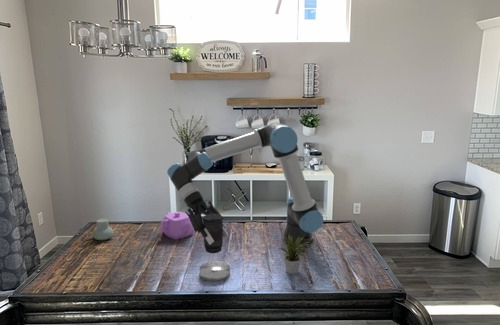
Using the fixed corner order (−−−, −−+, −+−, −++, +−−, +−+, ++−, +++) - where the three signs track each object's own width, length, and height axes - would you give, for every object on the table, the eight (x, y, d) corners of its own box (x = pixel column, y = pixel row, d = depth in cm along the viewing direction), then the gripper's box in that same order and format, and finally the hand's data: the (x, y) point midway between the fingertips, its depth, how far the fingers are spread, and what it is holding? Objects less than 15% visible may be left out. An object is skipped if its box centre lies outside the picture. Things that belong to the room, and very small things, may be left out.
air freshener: (115, 239, 199) (114, 221, 197) (99, 243, 193) (98, 225, 191) (107, 233, 207) (105, 215, 204) (91, 237, 201) (90, 219, 199)
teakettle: (166, 227, 214) (165, 207, 212) (196, 228, 214) (195, 207, 211) (158, 240, 198) (157, 217, 195) (190, 240, 197) (189, 218, 194)
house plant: (301, 284, 155) (302, 247, 151) (270, 275, 161) (271, 240, 158) (313, 269, 167) (314, 234, 163) (284, 262, 173) (285, 228, 170)
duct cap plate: (232, 268, 168) (232, 261, 167) (226, 283, 155) (226, 276, 154) (203, 266, 169) (203, 260, 169) (196, 281, 157) (195, 274, 156)
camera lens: (201, 247, 162) (201, 214, 159) (219, 244, 165) (219, 212, 162) (206, 255, 155) (205, 221, 152) (225, 252, 157) (225, 218, 154)
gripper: (203, 194, 173) (230, 236, 167) (168, 206, 157) (196, 252, 151) (212, 185, 169) (240, 227, 163) (176, 196, 153) (206, 243, 146)
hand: (219, 239), depth 157 cm, fingers closed on camera lens, 8 cm apart
